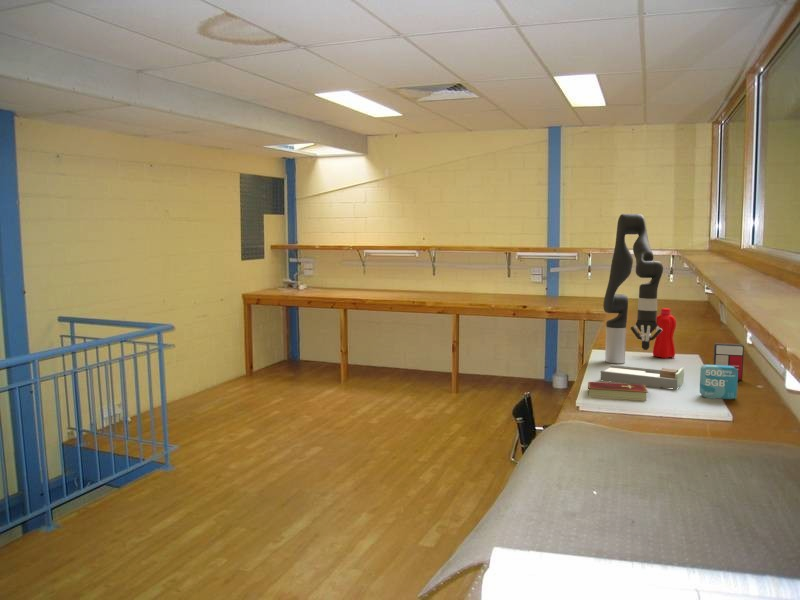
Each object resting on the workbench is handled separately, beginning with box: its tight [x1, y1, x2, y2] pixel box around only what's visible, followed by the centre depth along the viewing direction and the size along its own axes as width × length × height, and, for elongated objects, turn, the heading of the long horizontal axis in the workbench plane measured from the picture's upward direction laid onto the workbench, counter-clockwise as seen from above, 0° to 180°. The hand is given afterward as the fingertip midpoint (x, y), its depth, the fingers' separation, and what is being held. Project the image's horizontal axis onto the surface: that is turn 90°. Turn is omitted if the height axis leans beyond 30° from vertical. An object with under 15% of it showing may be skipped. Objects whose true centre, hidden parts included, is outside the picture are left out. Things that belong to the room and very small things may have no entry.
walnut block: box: [659, 367, 679, 379], centre depth 257 cm, size 6×6×3 cm
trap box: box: [600, 364, 685, 390], centre depth 263 cm, size 17×30×6 cm, turn 57°
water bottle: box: [652, 307, 677, 359], centre depth 318 cm, size 9×11×25 cm
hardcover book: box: [587, 381, 649, 402], centre depth 238 cm, size 12×21×4 cm, turn 74°
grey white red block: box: [712, 342, 745, 381], centre depth 267 cm, size 11×4×15 cm, turn 70°
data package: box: [699, 364, 739, 400], centre depth 235 cm, size 12×4×12 cm, turn 76°
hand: (645, 349), depth 261 cm, fingers closed
